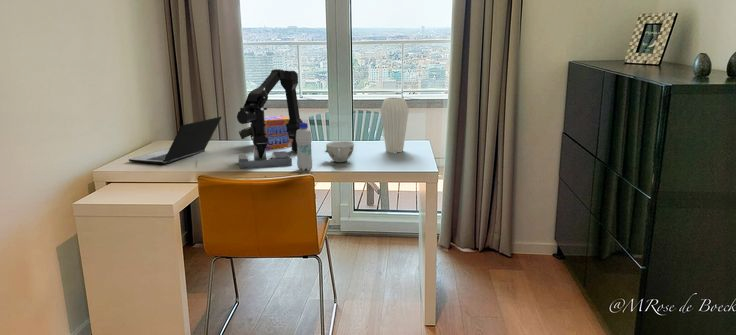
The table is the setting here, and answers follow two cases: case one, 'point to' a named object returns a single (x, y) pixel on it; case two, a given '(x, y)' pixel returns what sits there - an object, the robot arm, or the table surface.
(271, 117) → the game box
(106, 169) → the table surface
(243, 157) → the vise
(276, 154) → the panel
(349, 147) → the teacup
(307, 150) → the bottle
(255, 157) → the block
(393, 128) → the vase
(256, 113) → the robot arm
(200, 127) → the laptop
